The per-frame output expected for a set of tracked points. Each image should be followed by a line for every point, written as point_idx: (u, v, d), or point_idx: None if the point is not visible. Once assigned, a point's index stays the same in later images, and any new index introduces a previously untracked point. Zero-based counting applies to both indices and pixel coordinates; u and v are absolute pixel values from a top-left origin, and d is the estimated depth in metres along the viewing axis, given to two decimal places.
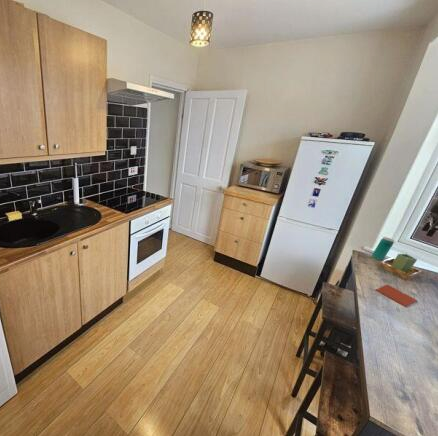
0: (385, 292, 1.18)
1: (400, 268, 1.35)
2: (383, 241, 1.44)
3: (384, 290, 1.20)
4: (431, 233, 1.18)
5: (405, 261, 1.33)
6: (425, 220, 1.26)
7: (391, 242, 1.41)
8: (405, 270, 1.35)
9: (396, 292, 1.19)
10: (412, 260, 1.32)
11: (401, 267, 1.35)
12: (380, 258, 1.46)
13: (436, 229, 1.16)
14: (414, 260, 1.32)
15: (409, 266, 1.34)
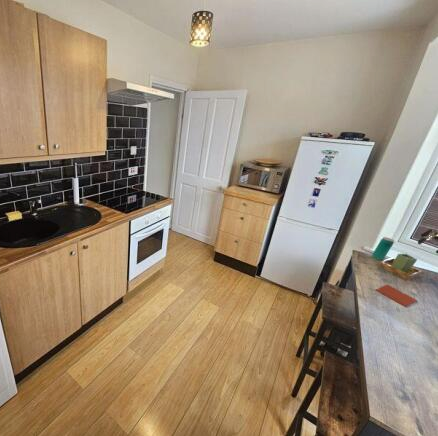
0: (385, 292, 1.18)
1: (400, 268, 1.35)
2: (383, 241, 1.44)
3: (384, 290, 1.20)
4: None
5: (405, 261, 1.33)
6: None
7: (391, 242, 1.41)
8: (405, 270, 1.35)
9: (396, 292, 1.19)
10: (412, 260, 1.32)
11: (401, 267, 1.35)
12: (380, 258, 1.46)
13: (421, 235, 1.37)
14: (414, 260, 1.32)
15: (409, 266, 1.34)
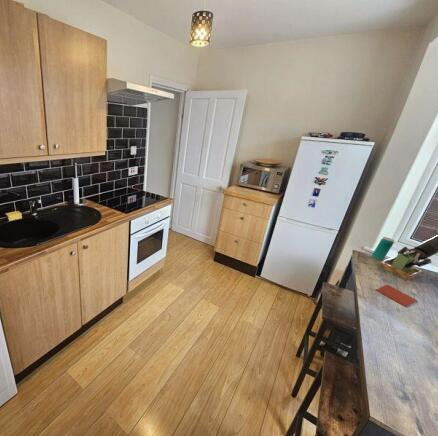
0: (385, 292, 1.18)
1: (400, 268, 1.35)
2: (383, 241, 1.44)
3: (384, 290, 1.20)
4: None
5: (405, 261, 1.33)
6: None
7: (391, 242, 1.41)
8: (405, 270, 1.35)
9: (396, 292, 1.19)
10: (412, 260, 1.32)
11: (401, 267, 1.35)
12: (380, 258, 1.46)
13: (398, 253, 1.40)
14: None
15: None
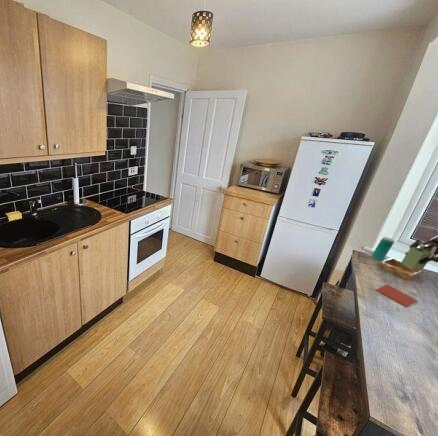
0: (385, 292, 1.18)
1: (413, 264, 1.16)
2: (383, 241, 1.44)
3: (384, 290, 1.20)
4: None
5: (419, 256, 1.13)
6: None
7: (391, 242, 1.41)
8: (419, 267, 1.16)
9: (396, 292, 1.19)
10: (427, 255, 1.13)
11: (414, 263, 1.15)
12: (380, 258, 1.46)
13: (410, 247, 1.21)
14: None
15: None
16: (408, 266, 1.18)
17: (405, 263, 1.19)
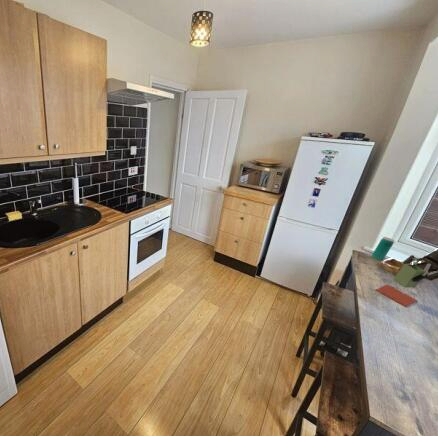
0: (385, 292, 1.18)
1: (406, 281, 1.11)
2: (383, 241, 1.44)
3: (384, 290, 1.20)
4: None
5: (412, 273, 1.09)
6: None
7: (391, 242, 1.41)
8: (412, 284, 1.11)
9: (396, 292, 1.19)
10: (421, 272, 1.08)
11: (407, 280, 1.11)
12: (380, 258, 1.46)
13: None
14: (423, 272, 1.08)
15: None
16: (401, 283, 1.13)
17: (398, 280, 1.14)
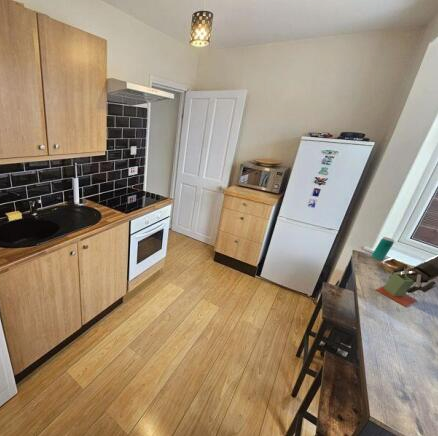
0: (385, 292, 1.18)
1: (395, 290, 1.16)
2: (383, 241, 1.44)
3: (384, 290, 1.20)
4: None
5: (401, 283, 1.13)
6: None
7: (391, 242, 1.41)
8: (401, 293, 1.15)
9: None
10: (409, 282, 1.12)
11: (396, 289, 1.15)
12: (380, 258, 1.46)
13: (394, 270, 1.20)
14: (411, 282, 1.12)
15: (405, 288, 1.14)
16: (390, 292, 1.18)
17: (387, 288, 1.19)
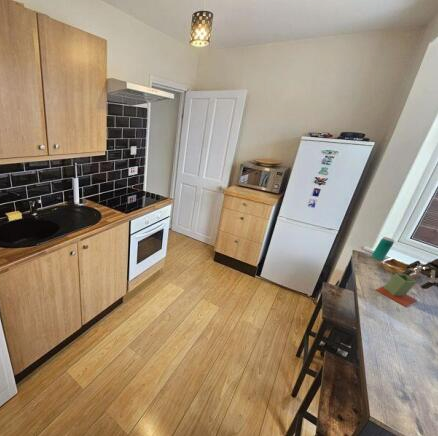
0: (385, 292, 1.18)
1: (395, 290, 1.16)
2: (383, 241, 1.44)
3: (384, 290, 1.20)
4: None
5: (401, 283, 1.13)
6: None
7: (391, 242, 1.41)
8: (401, 293, 1.15)
9: None
10: (410, 283, 1.12)
11: (396, 289, 1.15)
12: (380, 258, 1.46)
13: None
14: (412, 283, 1.12)
15: (406, 289, 1.14)
16: (390, 291, 1.18)
17: (388, 288, 1.19)
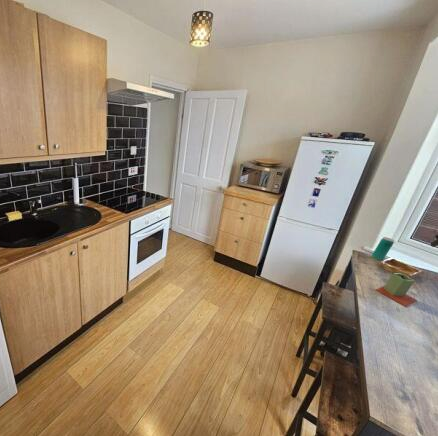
0: (385, 292, 1.18)
1: (394, 290, 1.16)
2: (383, 241, 1.44)
3: (384, 290, 1.20)
4: None
5: (400, 282, 1.14)
6: None
7: (391, 242, 1.41)
8: (400, 293, 1.16)
9: None
10: (408, 282, 1.13)
11: (395, 289, 1.15)
12: (380, 258, 1.46)
13: None
14: (411, 282, 1.13)
15: (405, 288, 1.14)
16: (390, 291, 1.18)
17: (387, 288, 1.19)
